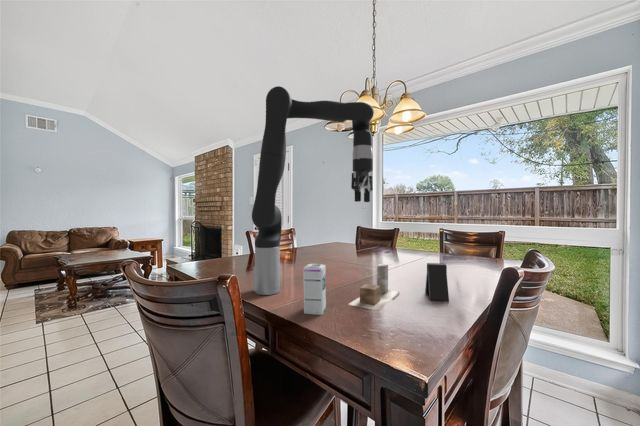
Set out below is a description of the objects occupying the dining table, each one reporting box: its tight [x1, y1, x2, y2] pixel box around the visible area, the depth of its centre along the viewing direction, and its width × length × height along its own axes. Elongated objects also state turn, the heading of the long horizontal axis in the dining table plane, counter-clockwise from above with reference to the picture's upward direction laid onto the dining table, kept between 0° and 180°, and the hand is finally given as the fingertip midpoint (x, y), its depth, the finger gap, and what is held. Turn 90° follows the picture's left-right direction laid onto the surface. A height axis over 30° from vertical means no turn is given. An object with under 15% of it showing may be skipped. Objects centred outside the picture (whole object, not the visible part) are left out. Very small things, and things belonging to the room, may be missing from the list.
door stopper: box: [424, 262, 450, 302], centre depth 96 cm, size 9×6×12 cm, turn 169°
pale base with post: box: [348, 263, 400, 312], centre depth 93 cm, size 10×22×11 cm, turn 147°
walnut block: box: [359, 283, 380, 306], centre depth 88 cm, size 5×5×5 cm
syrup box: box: [302, 263, 327, 316], centre depth 81 cm, size 6×6×14 cm
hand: (362, 201), depth 102 cm, fingers open, 8 cm apart
